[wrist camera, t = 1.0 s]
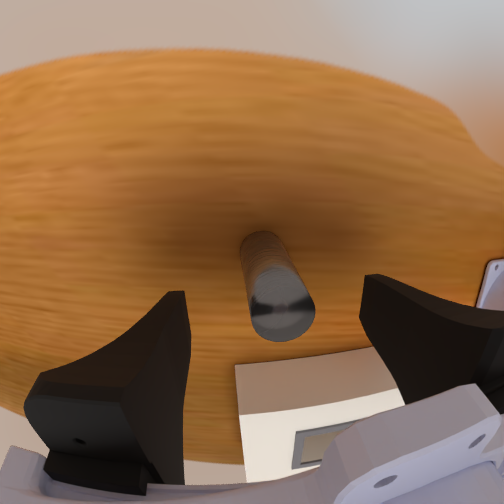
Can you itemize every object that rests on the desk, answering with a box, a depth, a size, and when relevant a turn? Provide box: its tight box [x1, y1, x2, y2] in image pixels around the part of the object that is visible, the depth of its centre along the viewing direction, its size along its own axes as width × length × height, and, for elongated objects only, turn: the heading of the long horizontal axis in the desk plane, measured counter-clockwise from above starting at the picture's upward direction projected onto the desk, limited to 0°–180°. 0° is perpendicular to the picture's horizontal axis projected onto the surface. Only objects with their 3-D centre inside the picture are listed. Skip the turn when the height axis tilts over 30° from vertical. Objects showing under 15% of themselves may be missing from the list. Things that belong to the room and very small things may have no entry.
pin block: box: [235, 347, 405, 483], centre depth 20 cm, size 12×10×5 cm
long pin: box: [240, 231, 315, 342], centre depth 14 cm, size 2×2×6 cm
